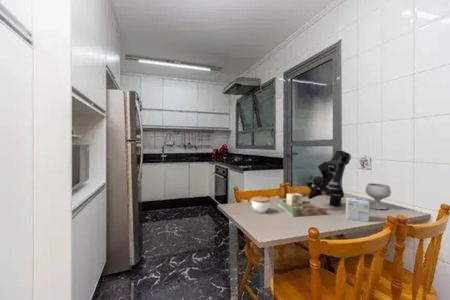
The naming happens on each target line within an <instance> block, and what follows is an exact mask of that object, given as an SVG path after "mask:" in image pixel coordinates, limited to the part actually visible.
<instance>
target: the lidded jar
mask: <svg viewBox="0 0 450 300" xmlns="http://www.w3.org/2000/svg"><path fill="white" fill-rule="evenodd" d="M270 203H271V198H269V197H266V196H262V195H259V196H253V197H251V206H252V209H253V210H254V212H255V213H258V214H264V213H266V212H267V211H268V210H269V209H270Z"/></svg>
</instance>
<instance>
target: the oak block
mask: <svg viewBox="0 0 450 300" xmlns="http://www.w3.org/2000/svg"><path fill="white" fill-rule="evenodd" d="M303 197H304V196H303V194H301V193H298V192H291V193H290V192H289V193H286V197H285V200H286V203H287V204H289V205H291V206H293V207H302V201H303Z"/></svg>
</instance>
